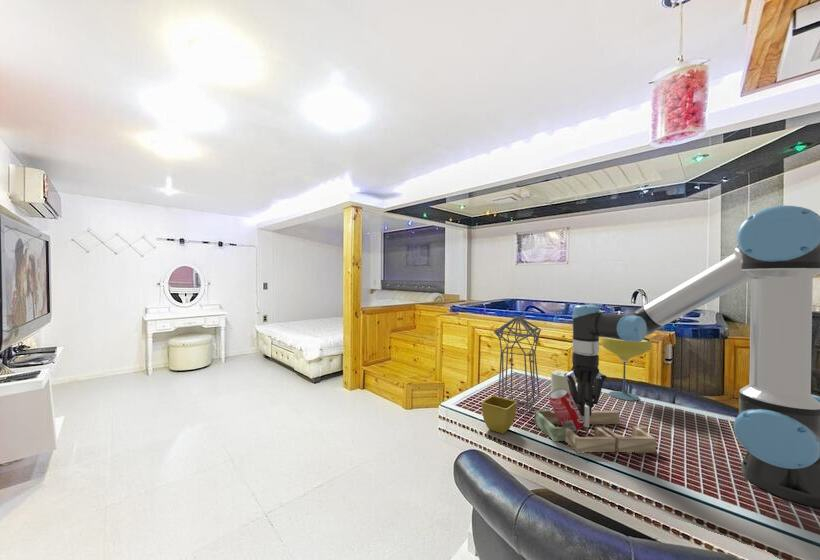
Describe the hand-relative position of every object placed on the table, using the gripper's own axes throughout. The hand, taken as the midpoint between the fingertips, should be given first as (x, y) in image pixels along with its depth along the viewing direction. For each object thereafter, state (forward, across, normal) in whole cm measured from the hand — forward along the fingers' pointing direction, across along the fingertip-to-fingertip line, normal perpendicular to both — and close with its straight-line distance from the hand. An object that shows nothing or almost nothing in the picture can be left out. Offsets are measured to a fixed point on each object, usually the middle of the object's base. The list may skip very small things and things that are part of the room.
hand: (584, 425), depth 102 cm
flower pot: (+2, +28, -1) cm, 28 cm away
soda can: (+1, +4, 0) cm, 4 cm away
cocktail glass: (+3, -36, -31) cm, 48 cm away
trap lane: (+2, -1, +3) cm, 4 cm away
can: (+2, -6, -25) cm, 25 cm away
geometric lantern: (+2, +15, -19) cm, 25 cm away
